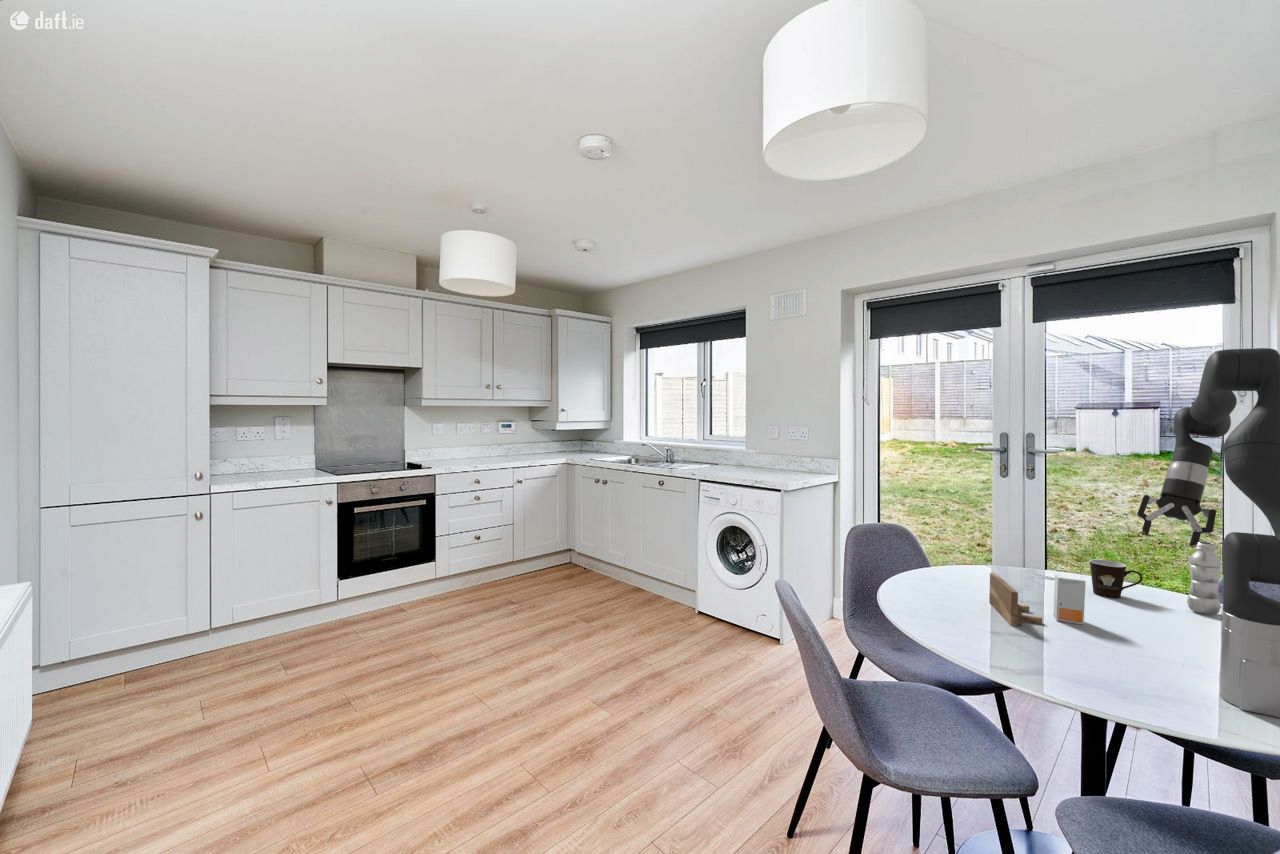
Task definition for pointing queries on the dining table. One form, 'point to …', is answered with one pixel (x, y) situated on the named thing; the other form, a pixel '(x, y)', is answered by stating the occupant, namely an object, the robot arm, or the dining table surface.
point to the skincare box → (1069, 598)
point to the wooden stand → (1008, 602)
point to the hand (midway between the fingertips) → (1168, 540)
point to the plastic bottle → (1204, 579)
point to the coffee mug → (1109, 578)
